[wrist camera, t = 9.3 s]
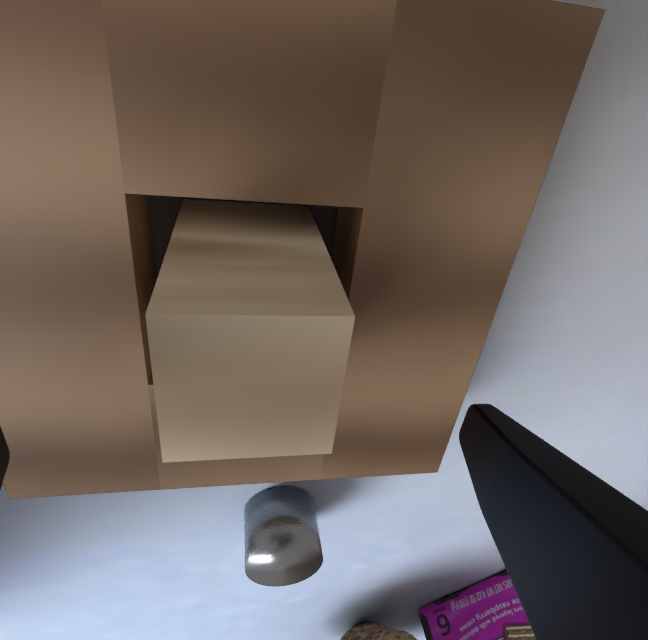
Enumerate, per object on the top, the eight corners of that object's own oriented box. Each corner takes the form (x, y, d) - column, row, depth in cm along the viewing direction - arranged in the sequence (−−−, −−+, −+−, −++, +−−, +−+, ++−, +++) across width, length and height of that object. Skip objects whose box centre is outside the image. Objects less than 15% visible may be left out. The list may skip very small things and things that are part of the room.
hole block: (413, 420, 21) (437, 472, 19) (41, 434, 18) (9, 498, 15) (533, 14, 13) (604, 9, 10) (-120, -91, 10) (-243, -135, 7)
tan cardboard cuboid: (299, 309, 17) (331, 453, 11) (189, 308, 16) (162, 462, 10) (308, 206, 15) (355, 316, 9) (183, 199, 14) (145, 314, 8)
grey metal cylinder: (310, 526, 24) (318, 581, 22) (243, 531, 24) (244, 589, 21) (317, 482, 23) (327, 538, 20) (244, 487, 22) (246, 545, 19)
